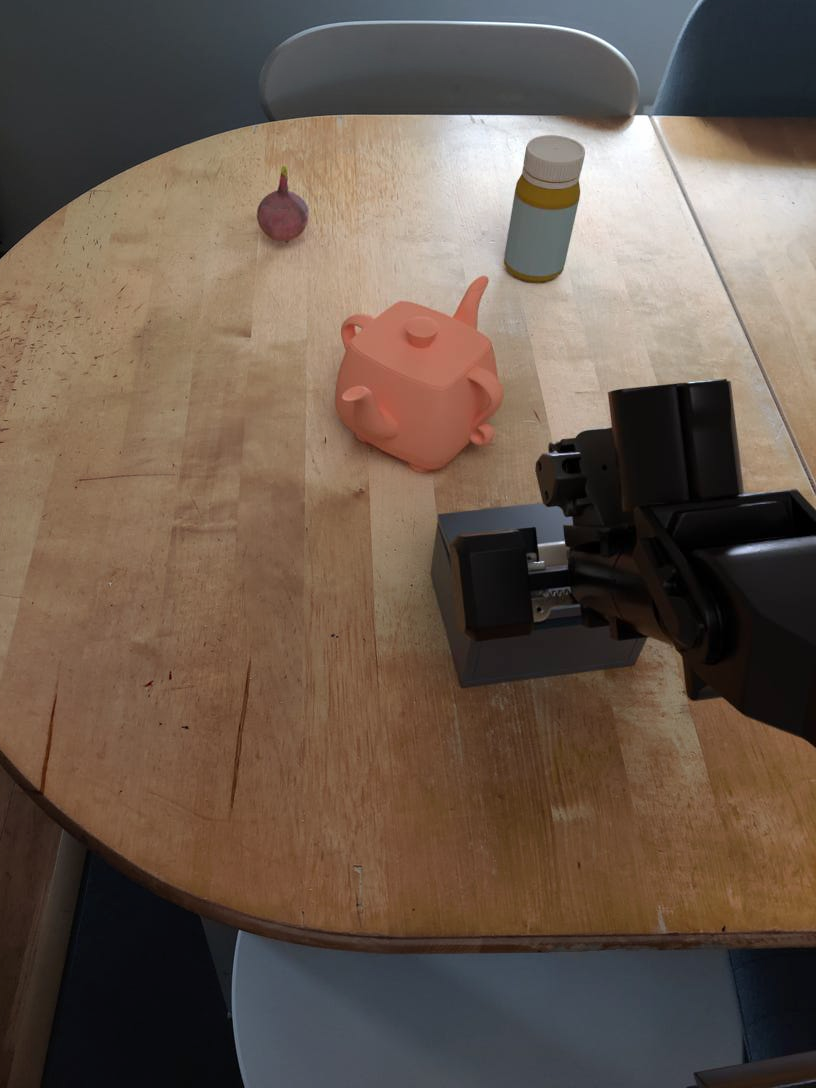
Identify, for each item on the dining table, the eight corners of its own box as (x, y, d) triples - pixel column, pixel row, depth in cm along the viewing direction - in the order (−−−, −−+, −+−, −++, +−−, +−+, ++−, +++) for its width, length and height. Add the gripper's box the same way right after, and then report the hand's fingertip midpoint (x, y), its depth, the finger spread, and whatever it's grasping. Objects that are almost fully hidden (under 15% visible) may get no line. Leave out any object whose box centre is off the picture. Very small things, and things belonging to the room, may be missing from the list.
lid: (670, 604, 60) (684, 551, 58) (477, 628, 59) (481, 575, 56) (605, 503, 70) (615, 453, 67) (437, 522, 68) (439, 471, 66)
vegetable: (308, 257, 106) (306, 181, 99) (256, 257, 106) (251, 181, 99) (310, 230, 110) (308, 155, 103) (260, 229, 110) (255, 154, 103)
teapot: (341, 496, 79) (342, 392, 70) (329, 375, 91) (329, 271, 82) (506, 488, 80) (528, 383, 71) (473, 368, 92) (489, 265, 83)
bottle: (501, 282, 102) (521, 161, 92) (504, 248, 107) (523, 130, 96) (563, 288, 102) (590, 167, 91) (562, 254, 106) (588, 135, 96)
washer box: (634, 665, 67) (658, 615, 63) (460, 688, 66) (471, 639, 61) (587, 555, 75) (605, 503, 70) (430, 573, 73) (437, 521, 69)
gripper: (812, 413, 47) (673, 430, 63) (473, 448, 46) (416, 457, 61) (837, 621, 47) (692, 587, 63) (496, 665, 45) (433, 619, 61)
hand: (560, 558), depth 62 cm, fingers closed on lid, 6 cm apart
